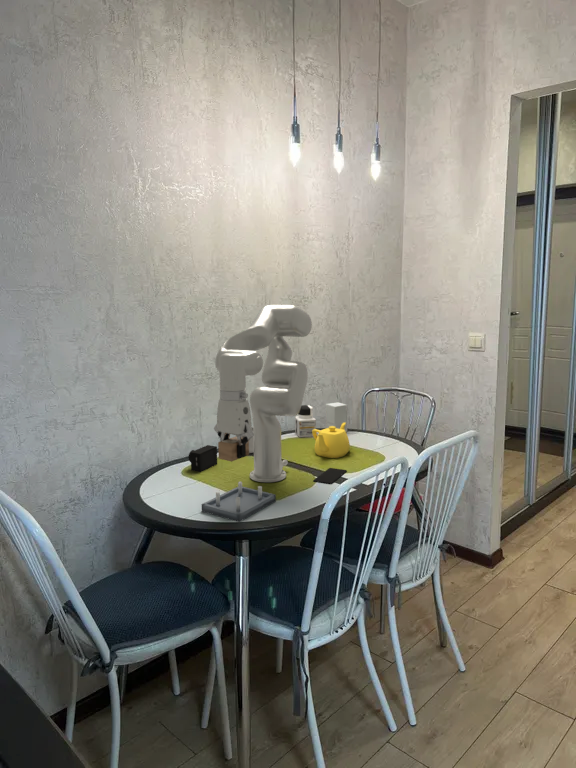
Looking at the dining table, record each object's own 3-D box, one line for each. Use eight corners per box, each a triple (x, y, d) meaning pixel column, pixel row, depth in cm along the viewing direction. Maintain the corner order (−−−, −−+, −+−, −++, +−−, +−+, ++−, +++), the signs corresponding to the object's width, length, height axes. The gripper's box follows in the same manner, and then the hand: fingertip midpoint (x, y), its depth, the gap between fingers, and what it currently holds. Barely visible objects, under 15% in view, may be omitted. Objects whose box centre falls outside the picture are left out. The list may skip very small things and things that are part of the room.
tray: (239, 492, 179) (239, 476, 178) (275, 501, 172) (275, 485, 171) (201, 511, 164) (201, 494, 163) (239, 522, 157) (238, 504, 156)
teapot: (325, 443, 234) (325, 418, 232) (359, 448, 226) (359, 422, 224) (297, 456, 216) (297, 429, 214) (332, 463, 208) (332, 435, 206)
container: (298, 437, 243) (298, 408, 241) (295, 433, 251) (294, 404, 249) (316, 436, 245) (316, 407, 243) (311, 432, 252) (311, 403, 250)
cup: (248, 454, 219) (248, 432, 218) (230, 450, 225) (229, 428, 224) (260, 450, 225) (260, 428, 223) (242, 446, 231) (242, 425, 229)
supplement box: (347, 432, 251) (348, 404, 249) (334, 434, 248) (334, 406, 246) (338, 428, 258) (338, 401, 256) (325, 430, 254) (325, 403, 252)
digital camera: (205, 462, 211) (205, 444, 209) (217, 464, 208) (217, 446, 207) (188, 470, 202) (187, 451, 200) (200, 472, 199) (199, 453, 198)
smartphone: (312, 480, 189) (329, 467, 202) (312, 482, 189) (329, 469, 202) (331, 483, 186) (347, 469, 199) (331, 485, 186) (347, 472, 199)
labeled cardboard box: (236, 452, 171) (235, 436, 170) (248, 454, 168) (248, 438, 167) (218, 458, 164) (218, 441, 164) (231, 461, 162) (231, 444, 161)
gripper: (263, 396, 161) (264, 457, 164) (219, 390, 171) (221, 448, 174) (247, 400, 155) (248, 463, 158) (202, 394, 165) (204, 454, 168)
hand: (234, 455), depth 166 cm, fingers closed on labeled cardboard box, 5 cm apart
